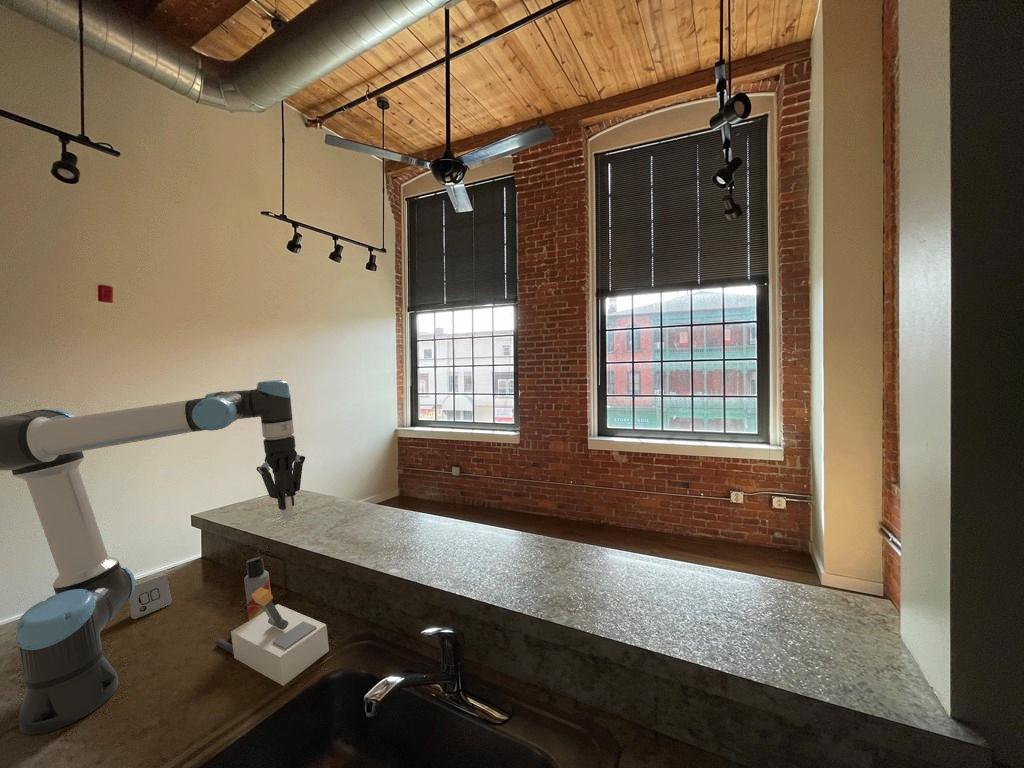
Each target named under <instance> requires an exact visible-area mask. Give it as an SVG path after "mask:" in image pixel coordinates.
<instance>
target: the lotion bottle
mask: <svg viewBox="0 0 1024 768" xmlns="http://www.w3.org/2000/svg"><path fill="white" fill-rule="evenodd" d="M245 563H246V572H247V574H246V576H245V577H244V578H243V579H244V580H243V581H244V590H245V598H246V605H247V607H246V608H247V615H248V621H250V620H251V619H253V618H255V617H257V616H258V615H260V614H262V613H263V612H265V610H264V609H263V607H262V606H261V604H259V603H256V602H255V600H254V599H253V597H252V596H251V595H252V594H253V593H254V592H255V591H256V590H258V589H259V588H260V587H262V588H264V589H267V590H269V591H270V593H271V594H272V591H271V583H270V574H269V571H267V570H266V569H265V567H264V557H263V556H262V555H259V556H258V555H257V556H256V557H255V556H254V557H252V558H250V559H248V560H246V562H245ZM272 600H273V599H271V601H272ZM272 602H273V601H272Z"/></svg>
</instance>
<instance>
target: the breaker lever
mask: <svg viewBox="0 0 1024 768" xmlns="http://www.w3.org/2000/svg"><path fill="white" fill-rule="evenodd" d="M251 596H252V597H253V599H254V600H255V602H256V603H259V604H261V606H262V607H263V609H264V610H265V612H266V614H267V615H268V617H269V620H268V623H269V624H271V625H273V626H275V627H277V628H279V629H281V630H284V629H285V628H286V627H287V626H288V621H286V620H284V619H282V617H281V616H280V614H279V612H278V611H277V609H276V607H275V604H274V603H273V601H271V599H272V600H273V598H274V596H273V595H272V592H271V593H270V591H269V590H267V589H264V588H262V587H260V588H259V589H258V590H256V591H255V592H254V593H253V594H252V595H251Z"/></svg>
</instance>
